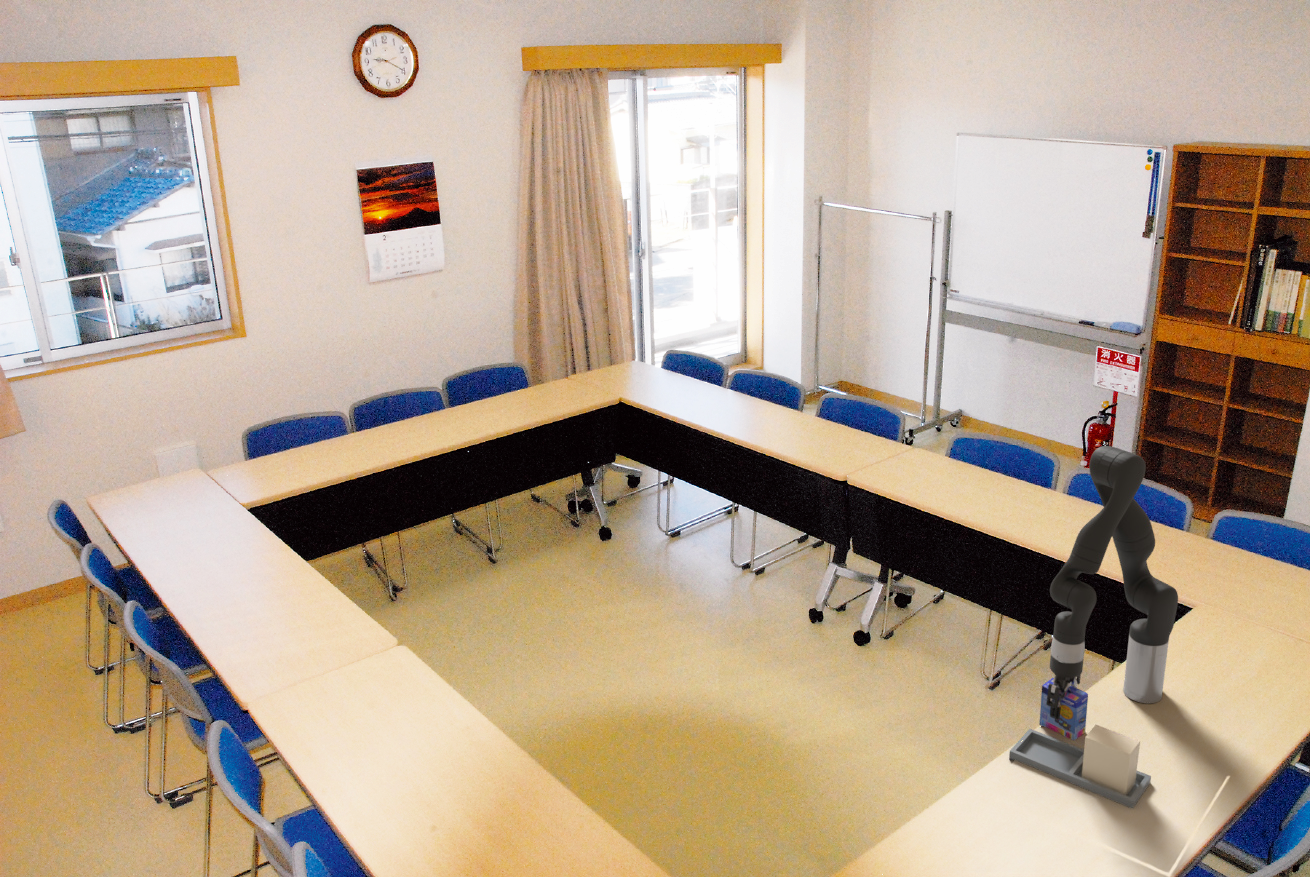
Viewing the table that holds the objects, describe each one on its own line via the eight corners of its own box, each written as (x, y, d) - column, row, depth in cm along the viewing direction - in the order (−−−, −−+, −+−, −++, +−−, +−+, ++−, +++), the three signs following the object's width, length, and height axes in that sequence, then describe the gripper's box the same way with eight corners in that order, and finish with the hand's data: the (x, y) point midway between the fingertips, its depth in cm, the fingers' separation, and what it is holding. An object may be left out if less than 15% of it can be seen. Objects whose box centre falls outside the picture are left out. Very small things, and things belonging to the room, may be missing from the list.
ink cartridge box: (1037, 725, 264) (1041, 677, 259) (1050, 716, 267) (1053, 668, 262) (1073, 743, 257) (1077, 693, 252) (1085, 733, 260) (1090, 684, 255)
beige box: (1091, 766, 248) (1095, 724, 243) (1135, 783, 241) (1140, 740, 237) (1081, 779, 244) (1085, 737, 239) (1125, 797, 237) (1130, 754, 233)
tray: (1029, 736, 260) (1029, 728, 259) (1150, 784, 241) (1151, 775, 240) (1009, 759, 253) (1009, 750, 252) (1132, 810, 234) (1133, 801, 233)
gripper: (1064, 636, 261) (1059, 691, 267) (1039, 660, 252) (1034, 717, 258) (1094, 646, 256) (1088, 702, 262) (1070, 671, 247) (1064, 729, 253)
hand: (1061, 709), depth 260 cm, fingers open, 8 cm apart
